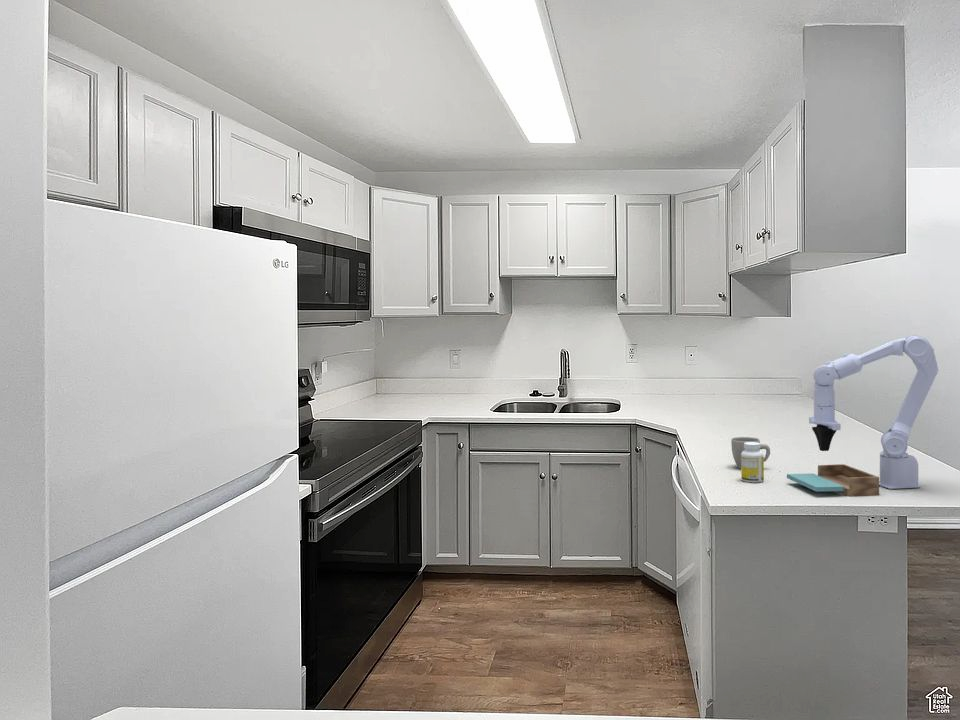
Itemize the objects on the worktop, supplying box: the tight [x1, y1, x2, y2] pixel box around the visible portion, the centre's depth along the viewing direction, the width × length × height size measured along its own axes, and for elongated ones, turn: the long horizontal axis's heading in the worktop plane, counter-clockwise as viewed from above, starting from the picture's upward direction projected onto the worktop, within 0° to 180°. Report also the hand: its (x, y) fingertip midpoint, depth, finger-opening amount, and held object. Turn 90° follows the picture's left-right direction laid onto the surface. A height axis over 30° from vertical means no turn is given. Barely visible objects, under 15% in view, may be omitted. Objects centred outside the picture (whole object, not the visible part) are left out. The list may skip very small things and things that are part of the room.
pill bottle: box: [740, 442, 765, 484], centre depth 230 cm, size 6×6×12 cm
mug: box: [730, 436, 771, 470], centre depth 248 cm, size 12×9×10 cm
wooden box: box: [817, 463, 880, 497], centre depth 218 cm, size 9×18×5 cm, turn 4°
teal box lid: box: [786, 473, 846, 492], centre depth 217 cm, size 1×17×8 cm
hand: (824, 450), depth 226 cm, fingers closed
